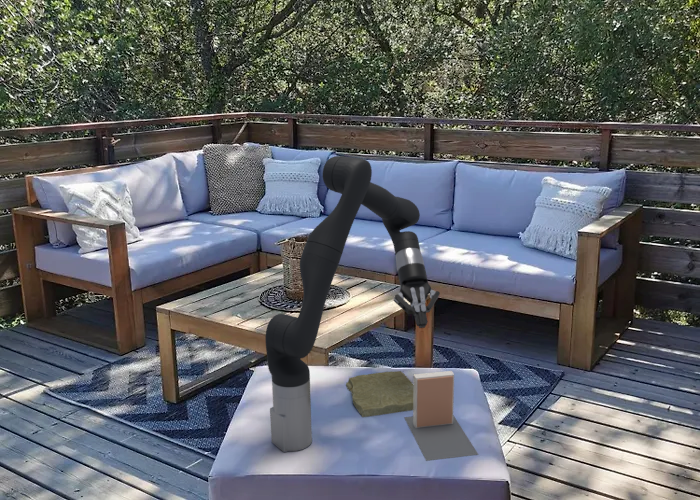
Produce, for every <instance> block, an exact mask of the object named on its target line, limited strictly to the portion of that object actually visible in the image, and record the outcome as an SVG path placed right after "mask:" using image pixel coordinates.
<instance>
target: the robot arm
mask: <svg viewBox="0 0 700 500" xmlns="http://www.w3.org/2000/svg"><path fill="white" fill-rule="evenodd" d="M372 174H373V171H372V165H371V163H370V162H369V161H368V160H367V159H364V158H360V157H352V156H344V155H336V156H332V157H330V158H328V160H326V162H325V163H324V166H323V168H322V181H323V183H324V185H325V187H326V188H327V189H328V190H330V191H331V192H334V193H337V194H341V196H340V198H339V200H338V202H337V204H336V205H335V207H334V209H333V210H332V211H331V212H330V213H329V214H328V215H327V216H326V217H324V219H323V220H322V221H321V222H320V223H319V224H318V225H317V226H315V228H314V229H313V230H312V231H311V232H310V234H309V235H308V237H307V239H306V242H305V244H304V247H303V251H302V253H301V255H300V260H299V271H300V278H301V283H302V289H303V298H302V299H303V300H302V304H301V307H300V311H299V313H298V315H297V317H295V316H293V315H290V314H284V313H278V314H275V315H273V317H271V319H270V320H269V321H268V324H267V326H266V330H265V336H264V337H265V340H264V341H265V349H266V350H265V352H266V362H267V368H268V371H269V374H271V388H272V389H271V390H272V407H270V409H269V415H270V433H271V435H270V437H271V443H272V444H273V445H274V446H276V447H277V448H278V449H280V450H281V452H282V453H286V452H296V451H297V452H298V451H301V450H303V449H306V448H308V447H310V445H311V444H312V441H313V437H312V436H313V435H312V434H313V431H312V430H313V428H312V404H311V375H310V374H311V373H310V367H309V366H308V364H307V363H306V362H305V361H303V360H302V359H304V358H306V357H307V356H308V355H309V354H310V353H311V351H312V350H313V347H314V345H315V343H316V341H317V337H318V333H319V329H320V326H321V321H322V318H323V312H324V308H325V304H326V301H327V298H328V296H329V295H328V294H329V292H330V288H331V286H332V283H333V279H334V277H335V274H336V273H337V270H338V266H339V263H340V261H341V258H342V255H343V253H344V250H345V247H346V242H347V240H348V238H349V234H350V232H351V228H352V226H353V224H354V221H355V219H356V216H357V215H358V211H359V209H360V208H361V206H363V207H365V208H366V209H368V210H369V211H371V212H372V213H374V214H375V215H376V216H378V217H380V218H381V220H382V223H383V224H382V225H384V228H385V229H386V231H387V233H388V235H389V236H390V239H391V242H392V245H393V249H394V254H395V265H396V271H397V275H398V280H399V285H400V290H399V293H396V294H395V295H394V298H393V302H394V304H396V305H398V306H399V307H400V308H401V310H403V311H404V312H405V313H406V314H407V315H410V314H411V315H413V316H414V320H415V325H416V327H418V328H419V329H424V328H426V326H427V324H428V315H427V313H430V312H431V311H432V308H433V307H434V305H435V303H436V301H437V300H438V299H439V296H440V291H436V290H434V289H432V286H431V285H430V284H429V281H428V280H429V279H428V276H427V272H426V266H425V261H424V257H423V255H422V252H421V248H420V247H421V246H420V243H419V238H418V235H417V233H415V232H413V231H411V230H410V231H409V230H408V231H407V230H406V231H402V230H404V229H407V228H409V227H413V226H415V225H416V224H417V223H418V222H419V220H420V217H421V216H420V215H421V214H420V209H419V208H418V206H417V205H416V204H415V203H414V202H413V201H412V200H410V199H408V198H404V197H401V196H400V197H399V196H396V195H394V194H393V193H392V192H390V191H389V190H387V189H386V188H384V187H383V186H380V185H378V184H377V183H373V182H371V181H372V176H373V175H372ZM428 296H429V297H430V302H429V303H428V305H426V300H428Z"/></svg>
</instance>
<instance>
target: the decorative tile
mask: <svg viewBox="0 0 700 500" xmlns="http://www.w3.org/2000/svg"><path fill="white" fill-rule="evenodd" d="M345 386H346V388H347V390H348V391H349V392H350V393H351V397H352V399H351V400H352V403H353V406H354V408H355V409H356V410H357V412H358V413H359V415H361V418H369V417H374V416H381V415H382V416H383V415H390V414H391V415H392V414H396V413H403V412H410V411H413V390H414V383H413V382H412V380H411V379H409V378H408V377H407V375H406V374H405V373H403V372H402V371H401V370H400V371H399V370H398V371H383V372H376V373H373V372H372V373H368V374H359V375H354V376H352V377H349V378H348V381H347V382H346V384H345Z"/></svg>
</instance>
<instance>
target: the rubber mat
mask: <svg viewBox="0 0 700 500" xmlns="http://www.w3.org/2000/svg"><path fill="white" fill-rule="evenodd" d="M403 418H404V420H405V423H406V424H407V426H408V428H409V430H410V433H411V434H412V436H413V437H414V440H415V442H416V444H417V446H418V448H419V450H420V452H421V453H422V456H423V458H424V459H425V461H426V462H428V461H436V460H445V459H454V458H462V457H469V456H478V455H479V453H478V451H477V449H475V446H474V445H473V443H472V442H471V439H469V437H468V436H467V434H466V432H465V430H464V429H463V428H462V426H461V425H460V424H459V421H458V419H456V417H455V416H454V414H453V424H448V425H439V426H429V427H420V428H415V426H414V424H413V415H412V416H403Z"/></svg>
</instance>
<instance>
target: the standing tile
mask: <svg viewBox="0 0 700 500" xmlns="http://www.w3.org/2000/svg"><path fill="white" fill-rule="evenodd" d="M413 385H414V390H413V410H412V411H413V414H412V416H413V424H414V426H415V428H420V427H429V426H439V425H448V424H453V415H454V394H455V374H454V372H453V371H452V370H446V371H434V372H427V373H415V374H413Z"/></svg>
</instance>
